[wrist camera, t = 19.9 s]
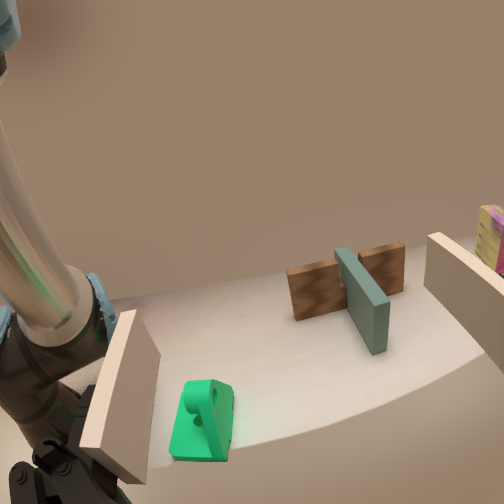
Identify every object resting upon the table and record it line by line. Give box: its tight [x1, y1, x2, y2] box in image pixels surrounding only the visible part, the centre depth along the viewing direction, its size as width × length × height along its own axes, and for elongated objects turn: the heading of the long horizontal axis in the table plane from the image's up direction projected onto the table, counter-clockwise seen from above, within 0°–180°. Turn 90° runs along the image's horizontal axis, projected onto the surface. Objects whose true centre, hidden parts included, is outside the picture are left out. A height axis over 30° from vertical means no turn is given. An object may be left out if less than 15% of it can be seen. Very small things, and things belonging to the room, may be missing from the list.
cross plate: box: [334, 246, 390, 355], centre depth 49 cm, size 2×18×10 cm, turn 5°
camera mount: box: [169, 379, 234, 462], centre depth 36 cm, size 12×8×10 cm, turn 178°
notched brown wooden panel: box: [286, 241, 405, 321], centre depth 53 cm, size 22×2×10 cm, turn 95°
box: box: [475, 205, 504, 274], centre depth 51 cm, size 10×6×12 cm, turn 171°
